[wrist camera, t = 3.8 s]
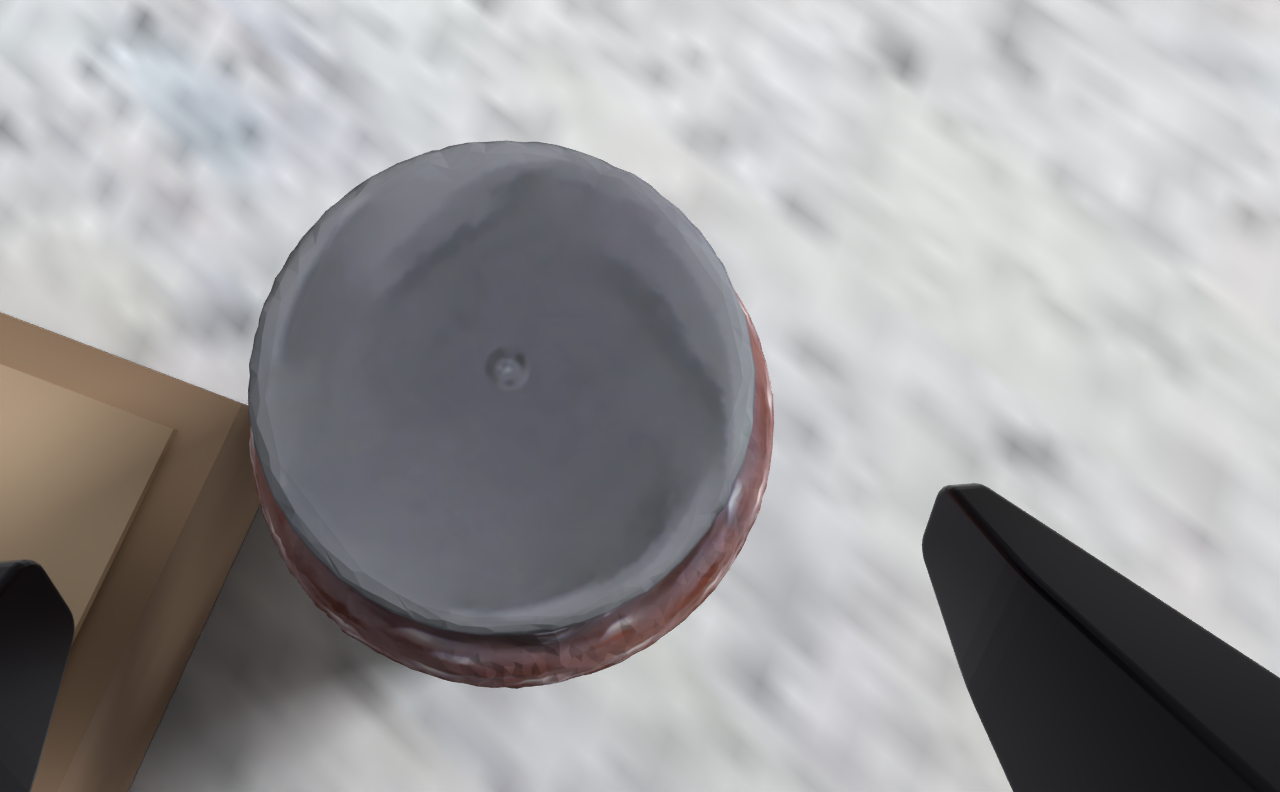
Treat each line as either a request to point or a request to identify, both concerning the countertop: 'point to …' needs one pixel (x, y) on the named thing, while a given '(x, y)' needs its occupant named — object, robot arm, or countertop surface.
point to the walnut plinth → (117, 533)
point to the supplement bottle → (507, 414)
